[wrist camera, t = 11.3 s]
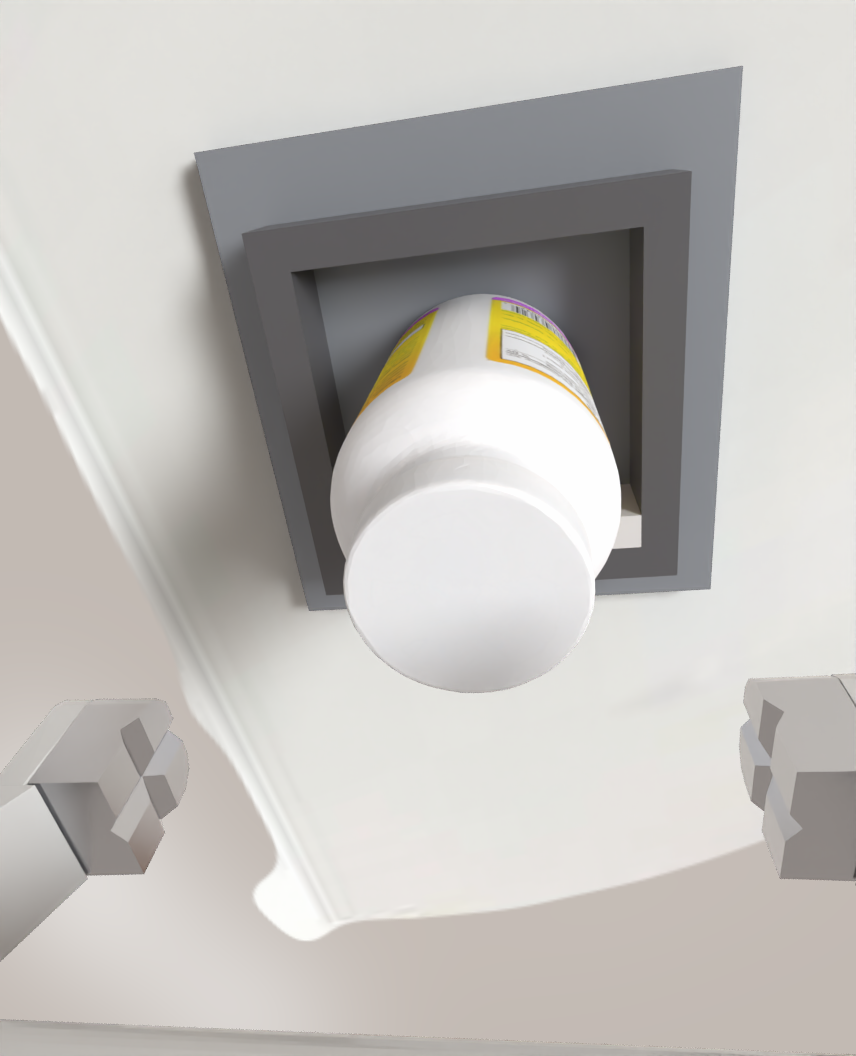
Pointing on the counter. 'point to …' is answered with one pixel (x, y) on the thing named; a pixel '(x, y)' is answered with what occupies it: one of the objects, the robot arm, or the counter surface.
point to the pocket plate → (498, 286)
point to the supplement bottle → (476, 499)
